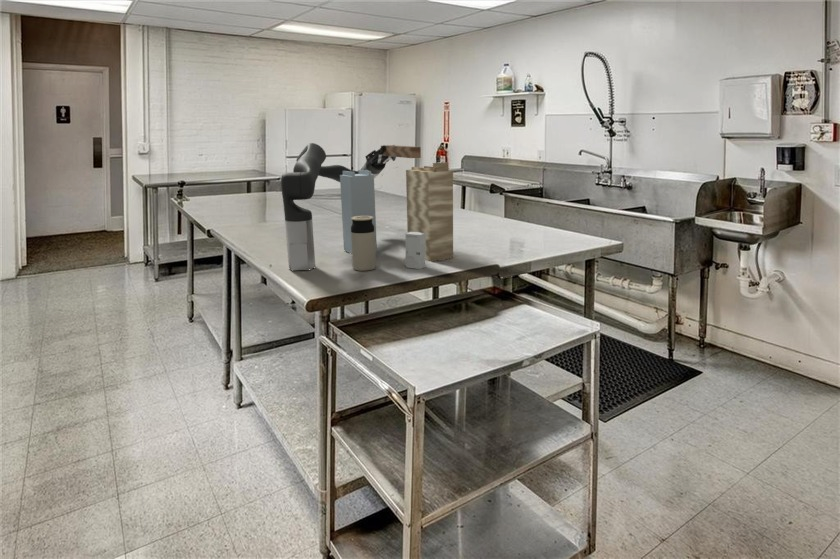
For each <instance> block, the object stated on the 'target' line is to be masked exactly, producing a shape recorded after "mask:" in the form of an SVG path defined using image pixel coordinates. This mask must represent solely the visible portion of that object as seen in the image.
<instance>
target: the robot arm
mask: <svg viewBox="0 0 840 559" xmlns="http://www.w3.org/2000/svg"><path fill="white" fill-rule="evenodd" d="M393 145H394V146H396V144H393ZM381 146H382V147H381ZM381 146H380V148H378V149H377V150H375V149H374V150H372V151H371V152H369V153H368V154H367V155H365V159H366V160H365V162H364V164H363V166H361V169H360V170H365V171H371V175H374V179H375V178H377V176H379V175H380V173H381V172H382V171H383V170H384V169H385V168H386V164H387V163H388V162H389V161H390V160H392V162H394V161H396V159H397V157H391V156H382V154H383V153H384V152H385V151H386V147H385V144H384V145H381ZM326 158H327V154H326V151H325V150H324V148H323V147H322V146H320V145H319V144H317V143H314V142H310V143H308V144H307V145H305V147H304V148H303V149H302V151H301V152H300V153H299V155H298V156H297V158H296V159H295V160H296V162H295V164H294V166H293V170H292V171H293V172H292V171H291V172H284V173H283V174H281V178H280V188H281V196H282V202H283V214H284V224H285V235H286V236H285V237H286V248H287V258H288V259H287V260H288V269H289V268H290V269H291V270H309V269H311V270H313V269H312V268H314V267H315V268H316V267H317V266H316V254H315V252H316V251H315V241H314V240H315V238H314V226H313V213H312V211H311V210H309V209H307V208H303V207H301V206H299V205H298V204H296V203H295V201H302V200H310V199H312V197H313V196H314V194H315V190H316V189H315V188H316V183H317V179H318V178H319V177H322V178H327V179H331V180H333V181H336V182H337V183H340V175H343V171H349V172H355V174H359V171H358V170H353V169H350V168H348V167H345V166H344V165H341V164H340V165H339V164H334V165H333V164H332V165H323V163H324V162H325V160H326ZM322 165H323V166H322ZM315 268H314V269H315ZM290 269H289V270H290ZM291 270H290V271H291ZM309 271H310V270H309Z"/></svg>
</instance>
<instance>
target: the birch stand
mask: <svg viewBox="0 0 840 559" xmlns="http://www.w3.org/2000/svg"><path fill="white" fill-rule="evenodd" d="M405 181H406V184H405V185H406V222H407V223H406V226H407V227H406V229H407V230H406V231H407V233H409V232H420V233H426V254H425V261H427V260H428V261H427V262H430V261H432V262H437V260H438V261H443V259H444V260H448V259H449V258H450V259H453V258H454V171H453V170H450V168H449V162H448V161H447V162H446V161H443V162H433V163H432V166H430V165H424V166H423V167H419V166H418V167H417V166H411V169H406V170H405Z"/></svg>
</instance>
